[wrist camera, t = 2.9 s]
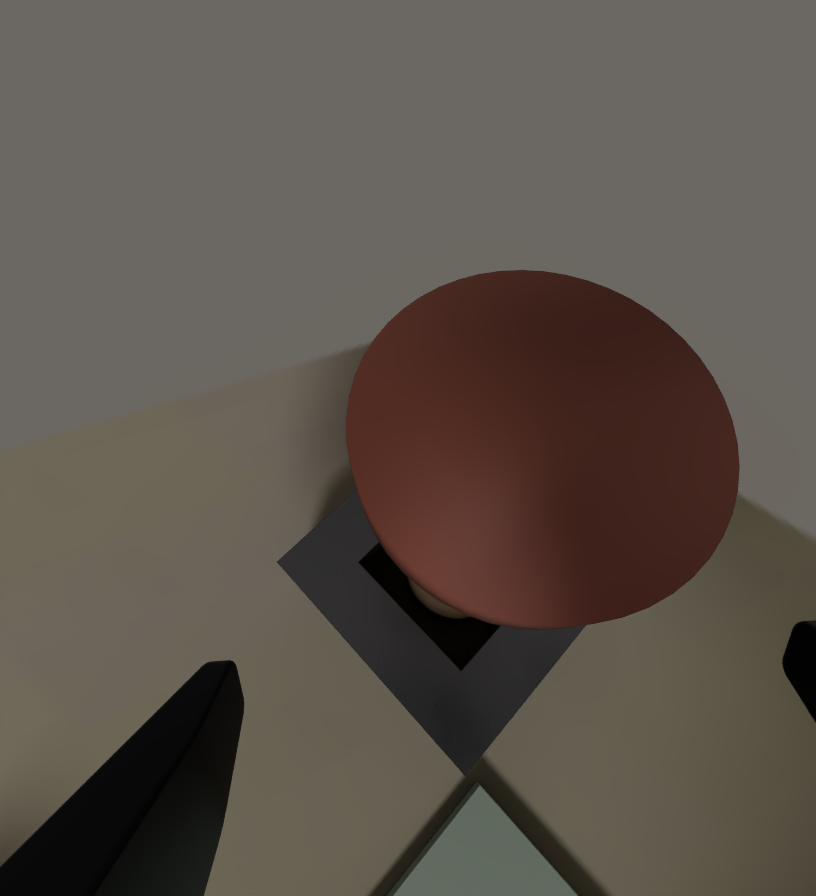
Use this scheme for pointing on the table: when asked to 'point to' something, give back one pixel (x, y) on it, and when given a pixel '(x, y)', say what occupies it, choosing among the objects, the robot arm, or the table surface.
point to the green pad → (480, 857)
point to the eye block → (419, 641)
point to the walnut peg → (539, 452)
